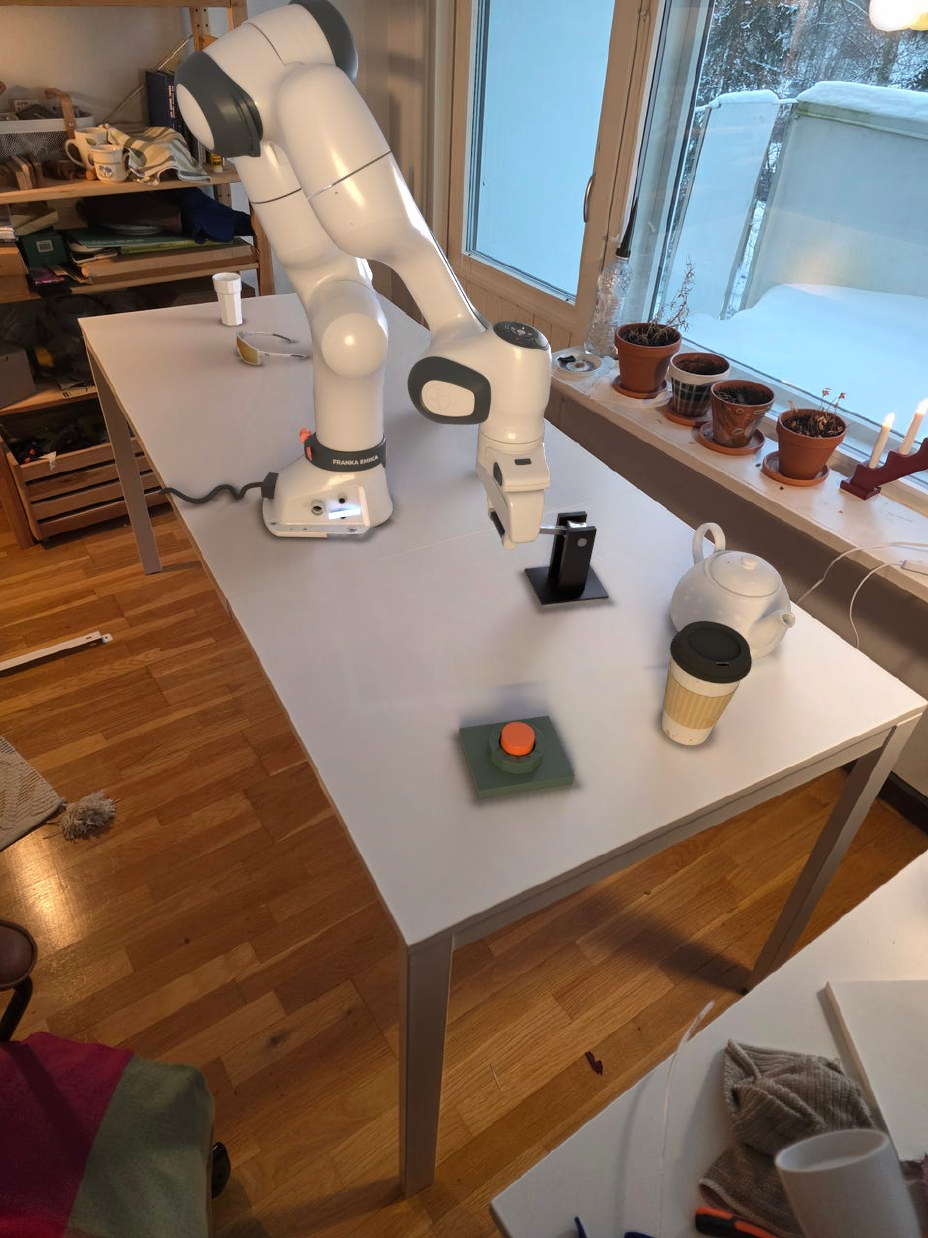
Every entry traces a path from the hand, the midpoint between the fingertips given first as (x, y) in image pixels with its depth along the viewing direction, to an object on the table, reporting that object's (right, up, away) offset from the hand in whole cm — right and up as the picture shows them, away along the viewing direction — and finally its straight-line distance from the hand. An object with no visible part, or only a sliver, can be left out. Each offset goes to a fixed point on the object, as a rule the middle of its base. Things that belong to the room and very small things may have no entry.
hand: (501, 532), depth 117 cm
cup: (-64, +62, +86) cm, 124 cm away
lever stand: (+11, -8, +10) cm, 17 cm away
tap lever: (+6, 0, +2) cm, 6 cm away
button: (+1, -28, -19) cm, 34 cm away
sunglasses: (-51, +50, +72) cm, 102 cm away
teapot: (+34, -14, +6) cm, 37 cm away
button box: (+1, -30, -17) cm, 35 cm away
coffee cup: (+24, -27, -11) cm, 38 cm away
